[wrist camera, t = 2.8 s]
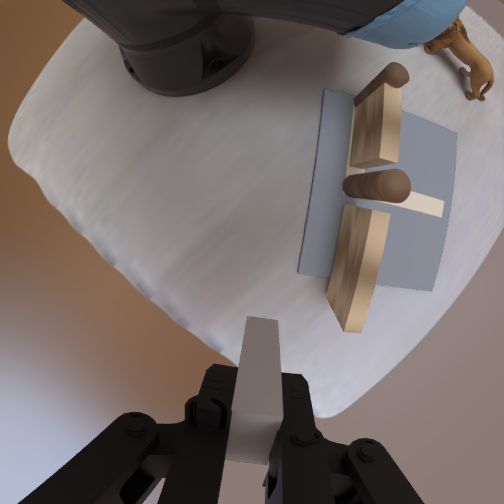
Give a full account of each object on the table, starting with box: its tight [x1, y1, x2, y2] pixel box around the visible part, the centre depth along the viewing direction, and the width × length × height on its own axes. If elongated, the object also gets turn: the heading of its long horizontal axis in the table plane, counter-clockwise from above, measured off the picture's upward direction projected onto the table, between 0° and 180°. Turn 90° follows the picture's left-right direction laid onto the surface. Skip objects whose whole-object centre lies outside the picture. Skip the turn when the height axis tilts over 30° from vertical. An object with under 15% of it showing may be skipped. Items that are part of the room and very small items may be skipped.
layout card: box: [298, 89, 457, 291], centre depth 27 cm, size 20×18×1 cm
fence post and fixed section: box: [343, 62, 411, 203], centre depth 21 cm, size 12×2×11 cm, turn 172°
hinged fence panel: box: [326, 204, 390, 333], centre depth 24 cm, size 10×2×8 cm, turn 172°
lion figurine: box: [424, 16, 494, 101], centre depth 18 cm, size 15×5×9 cm, turn 57°
